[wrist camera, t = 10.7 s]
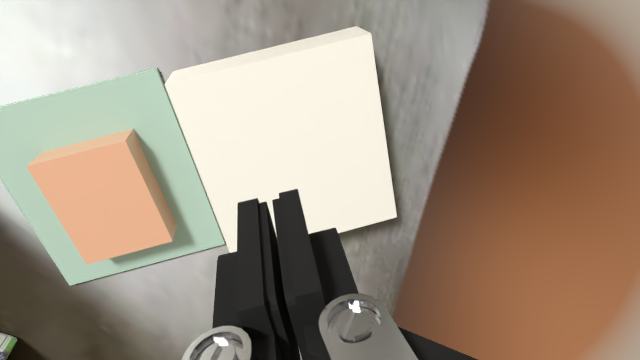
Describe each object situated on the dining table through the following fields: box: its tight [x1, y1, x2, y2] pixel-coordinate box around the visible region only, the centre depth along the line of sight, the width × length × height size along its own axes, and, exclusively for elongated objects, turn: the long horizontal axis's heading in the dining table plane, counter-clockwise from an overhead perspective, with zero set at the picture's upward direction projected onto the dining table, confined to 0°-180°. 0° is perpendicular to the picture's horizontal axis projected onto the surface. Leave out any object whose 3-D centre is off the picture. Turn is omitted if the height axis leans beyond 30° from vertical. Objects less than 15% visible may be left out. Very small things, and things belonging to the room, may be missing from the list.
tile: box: [26, 129, 177, 264], centre depth 33 cm, size 9×7×2 cm
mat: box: [0, 68, 225, 286], centre depth 34 cm, size 16×14×1 cm
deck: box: [164, 26, 397, 253], centre depth 33 cm, size 15×14×4 cm
